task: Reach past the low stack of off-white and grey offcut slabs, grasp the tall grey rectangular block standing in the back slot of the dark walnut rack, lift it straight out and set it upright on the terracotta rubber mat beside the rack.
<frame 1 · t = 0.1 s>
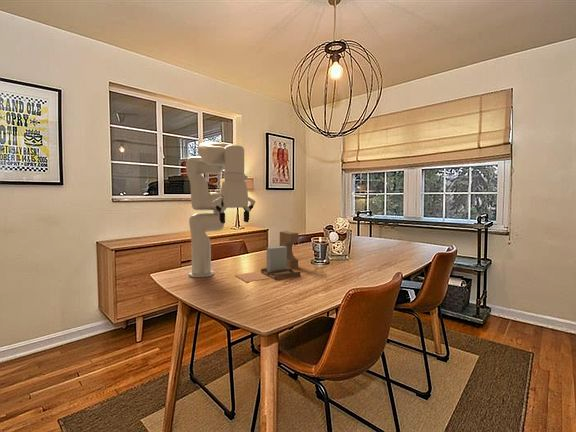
hand: (234, 222, 124), 31 cm above the table, tool pointing down, fingers open, 9 cm apart
terracotta mat: (251, 277, 160), on the table
lower offcut slab: (283, 278, 162), on the table, touching upper offcut slab
upper offcut slab: (283, 275, 162), resting on lower offcut slab
grey rectangular block: (276, 273, 168), on the table
decorative block: (288, 267, 183), on the table
walnut rack: (280, 275, 165), on the table
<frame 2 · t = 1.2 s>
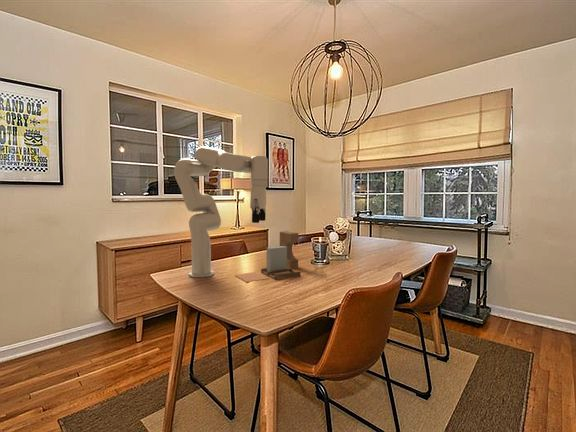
hand: (258, 221, 145), 30 cm above the table, tool pointing down, fingers open, 9 cm apart
nothing on the table moved.
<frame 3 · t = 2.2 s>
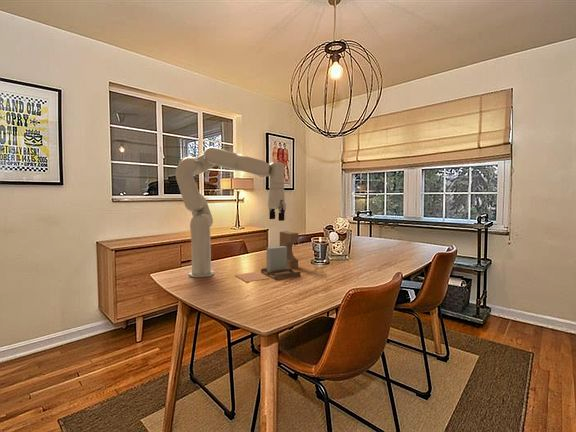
hand: (276, 219, 165), 28 cm above the table, tool pointing down, fingers open, 9 cm apart
nothing on the table moved.
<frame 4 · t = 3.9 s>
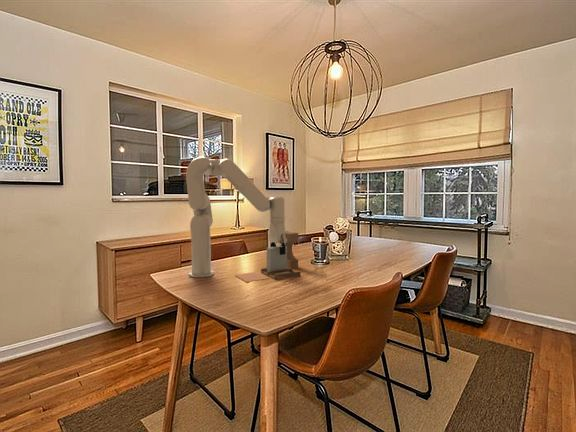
hand: (277, 253, 167), 11 cm above the table, tool pointing down, fingers open, 9 cm apart
nothing on the table moved.
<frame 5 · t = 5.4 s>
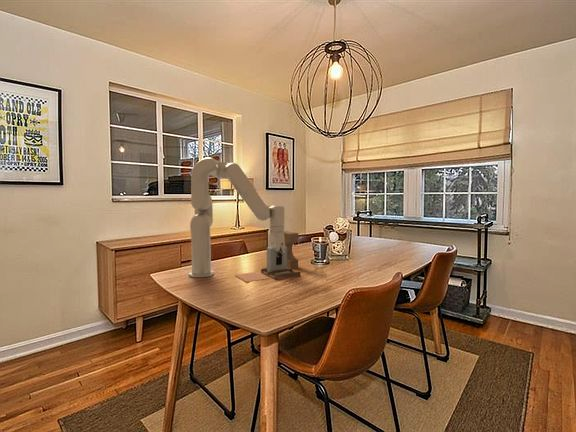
hand: (276, 263, 168), 5 cm above the table, tool pointing down, fingers closed on grey rectangular block, 4 cm apart
grey rectangular block: (276, 273, 168), on the table, touching gripper
everything else where it was.
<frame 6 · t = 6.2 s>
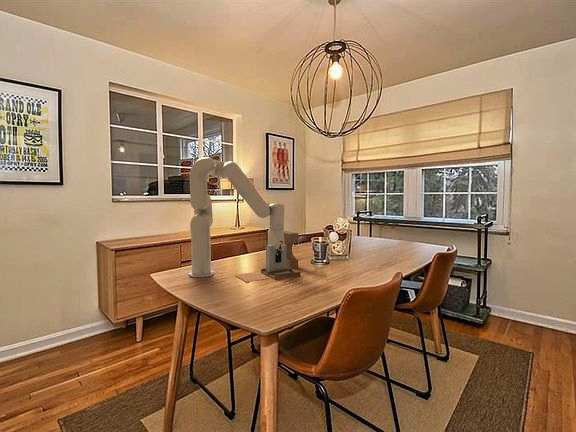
hand: (276, 261, 168), 7 cm above the table, tool pointing down, fingers closed on grey rectangular block, 4 cm apart
grey rectangular block: (275, 271, 168), point 1 cm above the table, touching gripper
everything else where it was.
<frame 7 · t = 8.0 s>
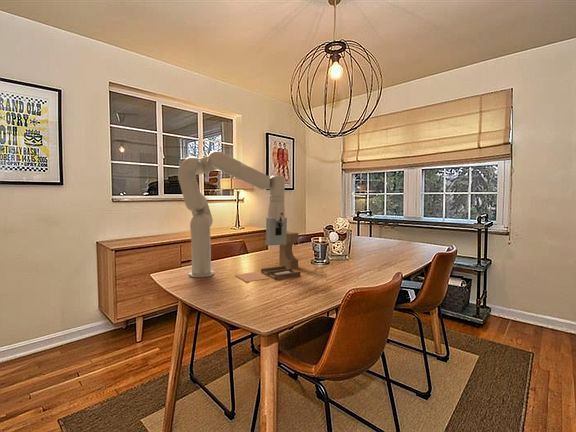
hand: (276, 234, 167), 21 cm above the table, tool pointing down, fingers closed on grey rectangular block, 4 cm apart
grey rectangular block: (276, 244, 167), point 15 cm above the table, touching gripper
everything else where it was.
when the fingers open (7 cm above the table, at t = 14.6 s): grey rectangular block stays where it is, resting on terracotta mat.
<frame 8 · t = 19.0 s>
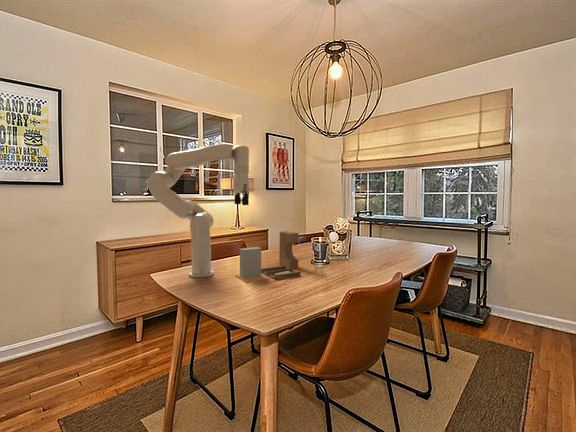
hand: (241, 204, 162), 36 cm above the table, tool pointing down, fingers open, 9 cm apart
grey rectangular block: (250, 275, 160), point 1 cm above the table, touching terracotta mat
everything else where it was.
at the end: grey rectangular block inside the target area (0.6 cm from its centre), point 0.6 cm above the table; grey rectangular block tilted 0°; the gripper is holding nothing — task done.
